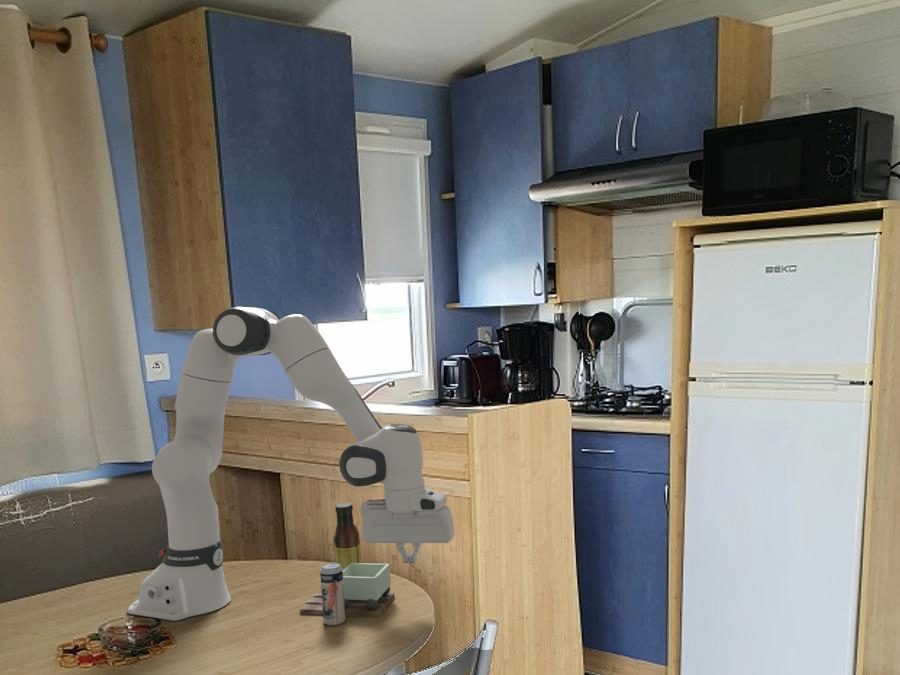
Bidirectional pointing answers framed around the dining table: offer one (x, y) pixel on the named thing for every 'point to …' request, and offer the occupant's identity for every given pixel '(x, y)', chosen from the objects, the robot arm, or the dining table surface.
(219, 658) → the dining table surface
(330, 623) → the beer can
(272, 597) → the dining table surface
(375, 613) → the walnut track
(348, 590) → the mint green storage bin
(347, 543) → the sauce bottle
